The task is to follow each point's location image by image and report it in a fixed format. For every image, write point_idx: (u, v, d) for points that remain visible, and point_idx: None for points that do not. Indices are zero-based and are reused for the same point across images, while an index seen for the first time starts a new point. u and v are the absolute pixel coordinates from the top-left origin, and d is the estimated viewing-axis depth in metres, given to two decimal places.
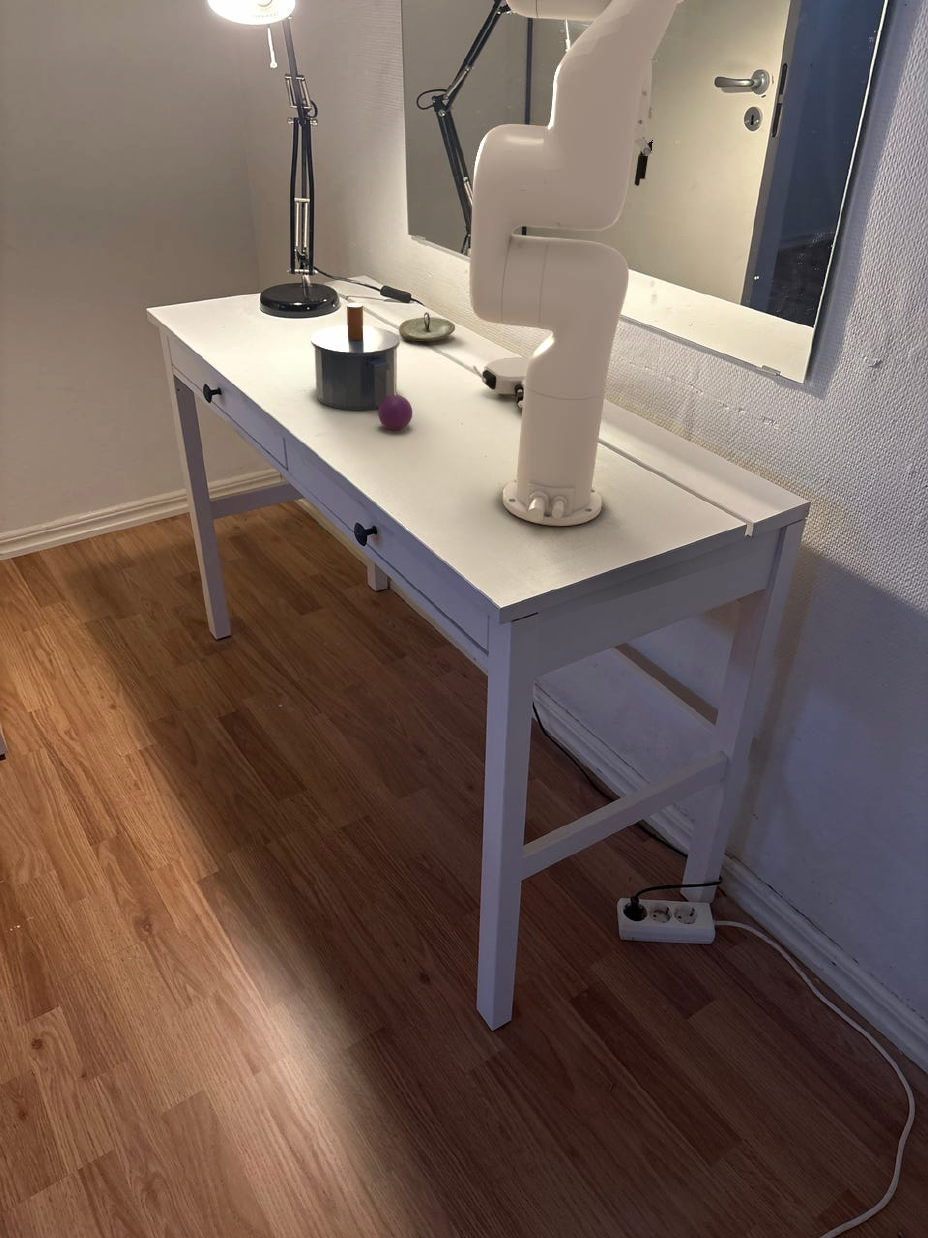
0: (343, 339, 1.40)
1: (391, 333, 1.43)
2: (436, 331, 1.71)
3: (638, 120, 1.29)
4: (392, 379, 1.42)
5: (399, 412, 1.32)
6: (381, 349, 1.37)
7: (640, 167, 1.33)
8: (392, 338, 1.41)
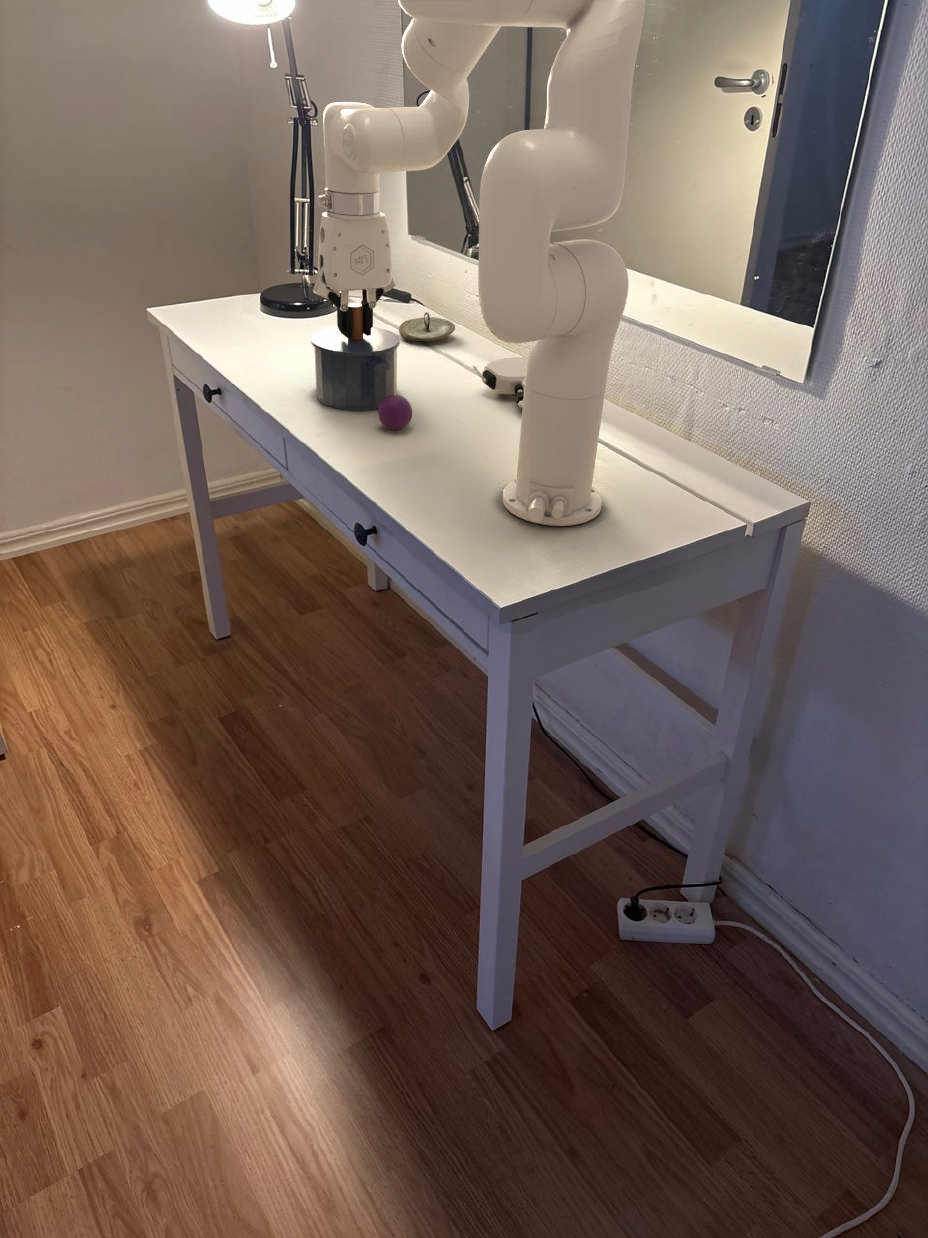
0: (343, 339, 1.40)
1: (391, 333, 1.43)
2: (436, 331, 1.71)
3: (385, 269, 1.34)
4: (392, 379, 1.42)
5: (399, 412, 1.32)
6: (381, 349, 1.37)
7: (370, 319, 1.38)
8: (392, 338, 1.41)
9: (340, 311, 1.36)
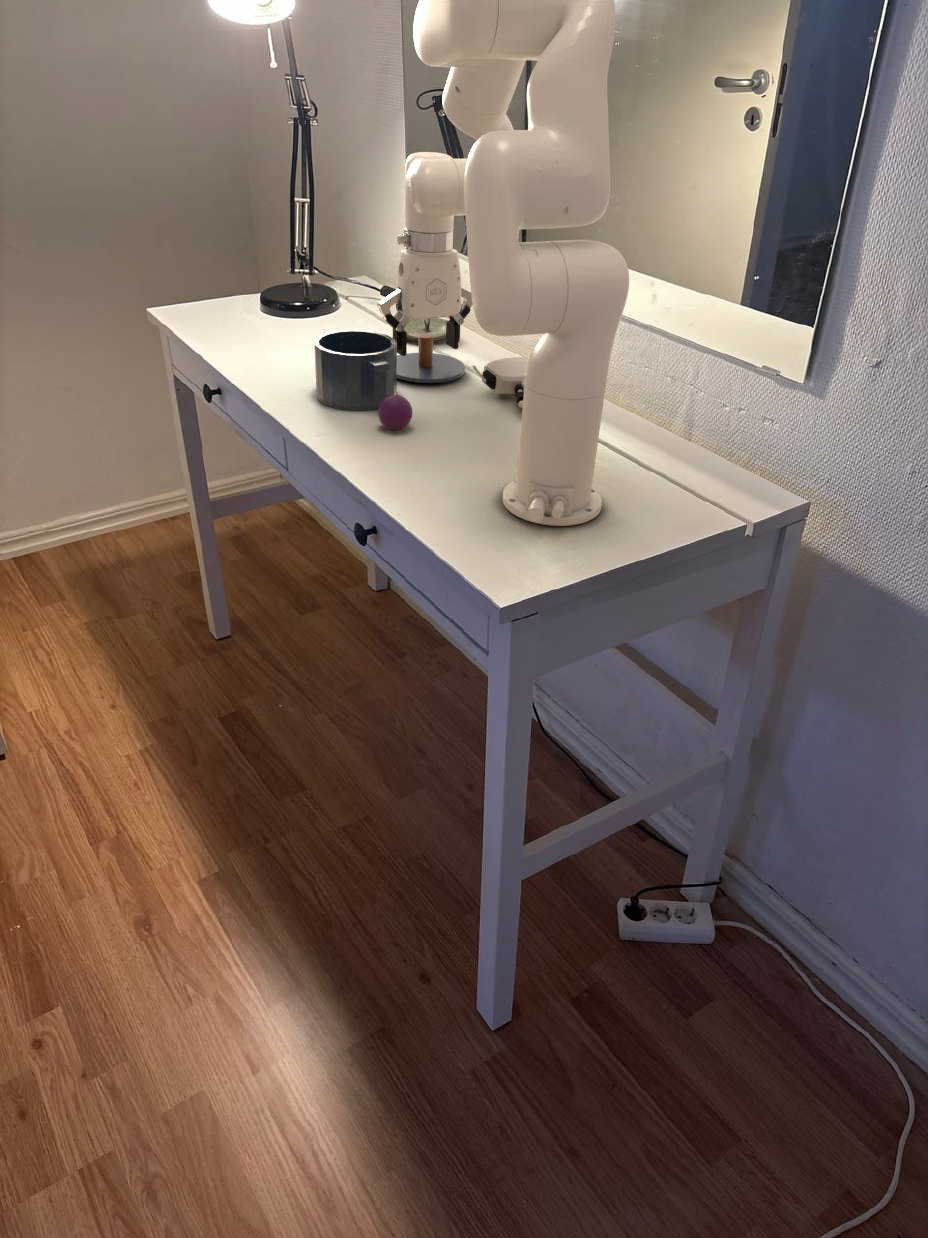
0: (414, 366, 1.54)
1: (456, 360, 1.58)
2: (436, 331, 1.71)
3: (456, 299, 1.48)
4: (392, 379, 1.42)
5: (399, 412, 1.32)
6: (450, 376, 1.51)
7: (457, 334, 1.53)
8: (458, 365, 1.56)
9: (396, 331, 1.48)
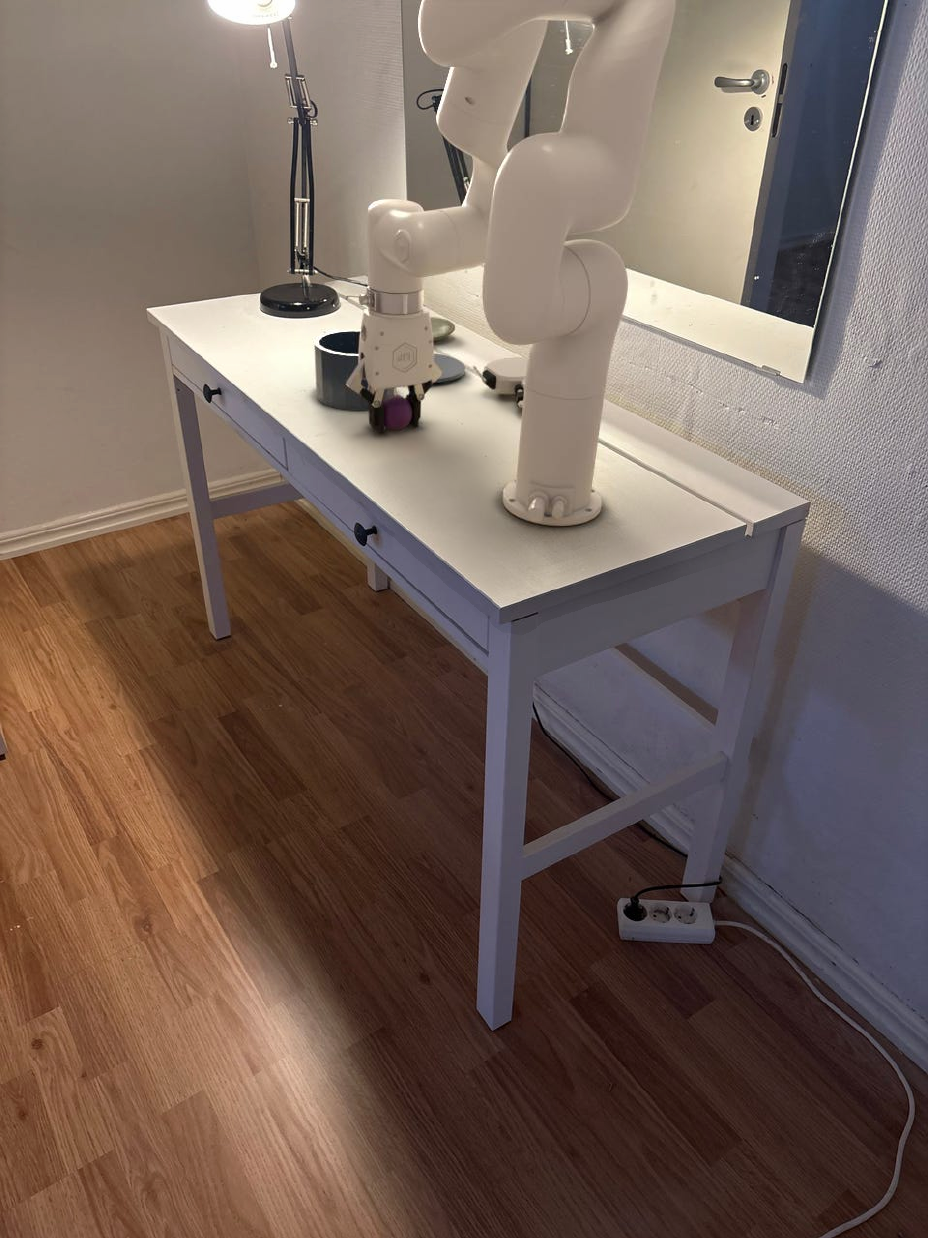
0: None
1: (456, 360, 1.58)
2: (436, 331, 1.71)
3: (428, 365, 1.29)
4: None
5: (399, 412, 1.32)
6: (450, 376, 1.51)
7: (418, 412, 1.34)
8: (458, 365, 1.56)
9: (372, 407, 1.31)
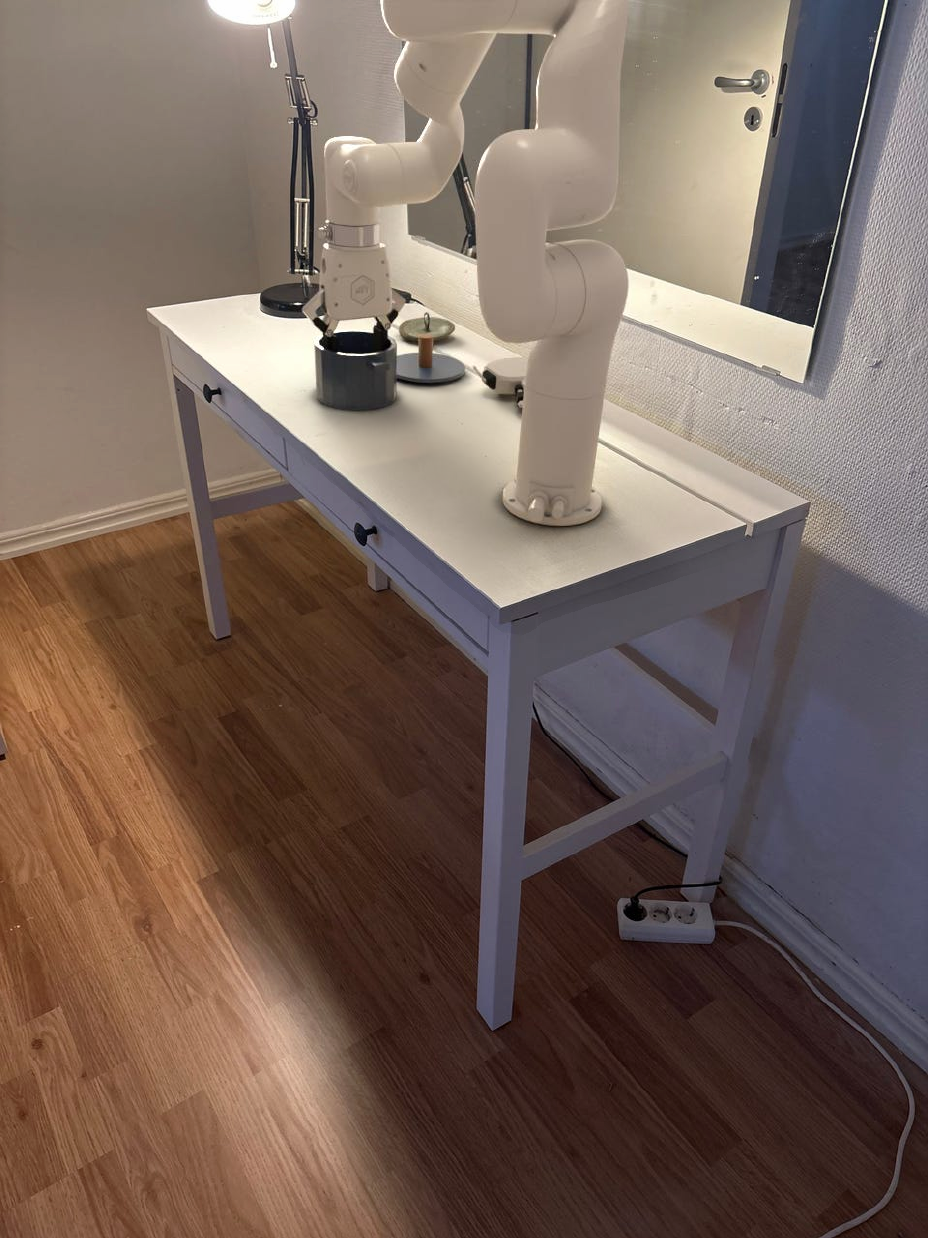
0: (414, 366, 1.54)
1: (456, 360, 1.58)
2: (436, 331, 1.71)
3: (385, 298, 1.36)
4: (392, 379, 1.42)
5: None
6: (450, 376, 1.51)
7: (385, 340, 1.41)
8: (458, 365, 1.56)
9: (326, 336, 1.37)
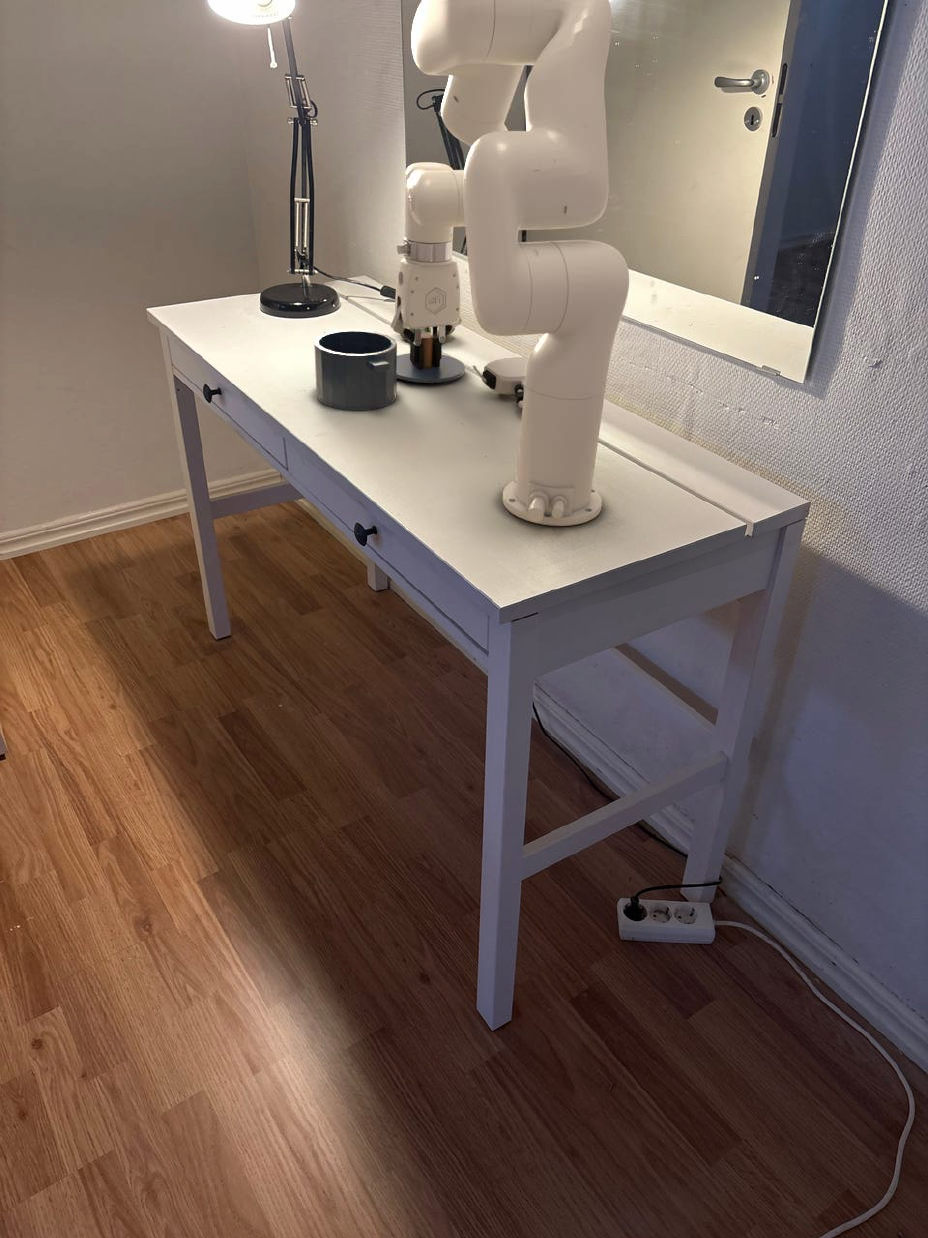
0: (414, 366, 1.54)
1: (456, 360, 1.58)
2: None
3: (455, 308, 1.49)
4: (392, 379, 1.42)
5: None
6: (450, 376, 1.51)
7: (439, 352, 1.53)
8: (458, 365, 1.56)
9: (413, 345, 1.52)
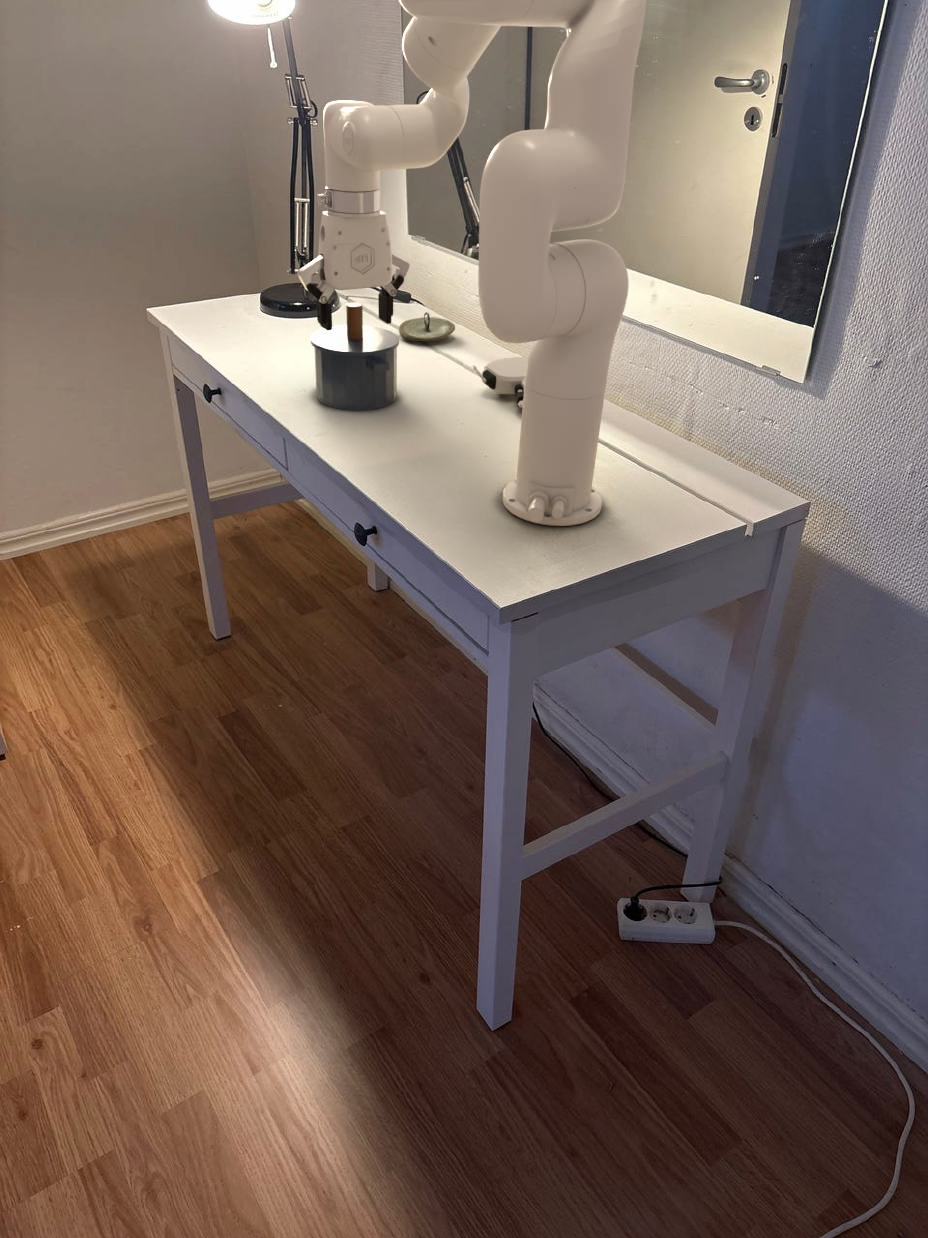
0: (342, 339, 1.40)
1: (390, 333, 1.43)
2: (436, 331, 1.71)
3: (386, 267, 1.34)
4: (392, 379, 1.42)
5: None
6: (380, 349, 1.37)
7: (390, 307, 1.39)
8: (391, 338, 1.41)
9: (319, 303, 1.34)
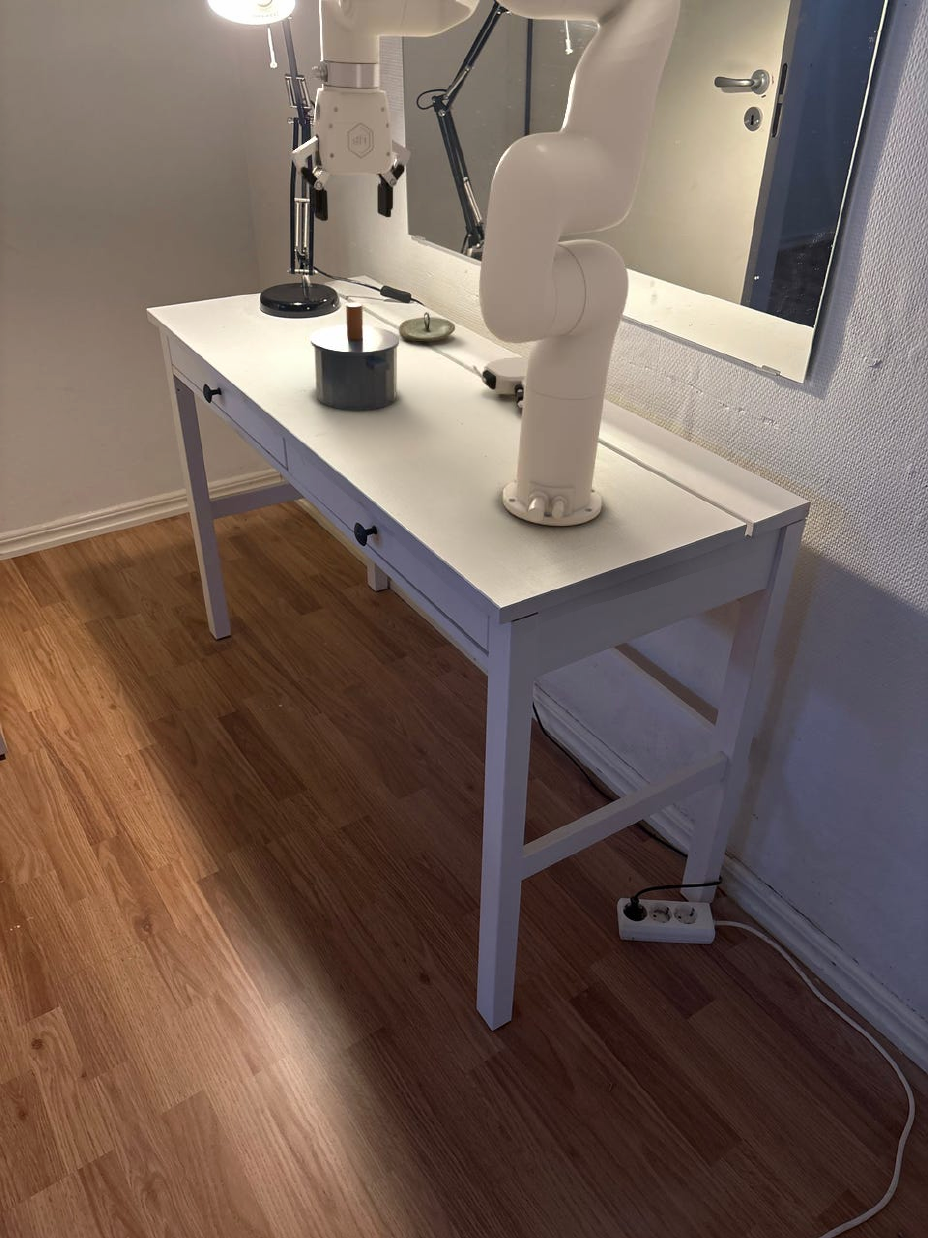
0: (342, 339, 1.40)
1: (390, 333, 1.43)
2: (436, 331, 1.71)
3: (385, 152, 1.26)
4: (392, 379, 1.42)
5: None
6: (380, 349, 1.37)
7: (390, 198, 1.30)
8: (391, 338, 1.41)
9: (314, 190, 1.26)
